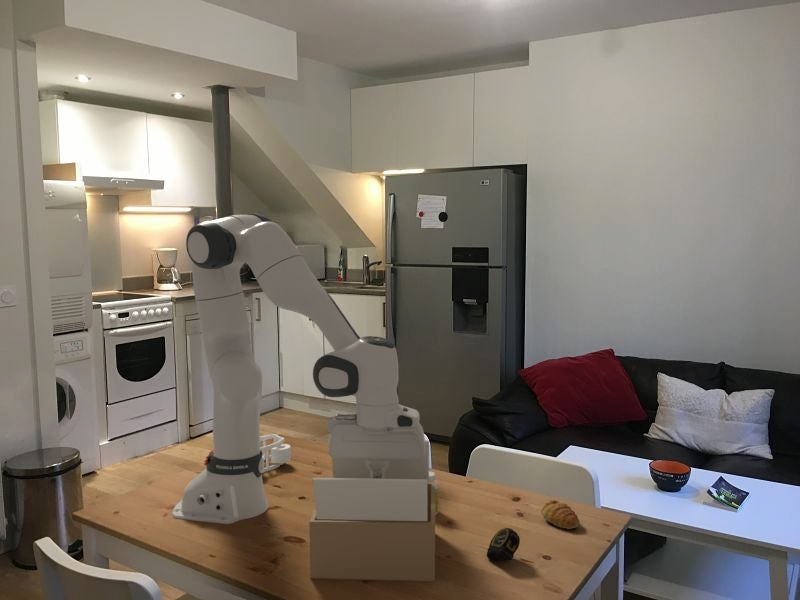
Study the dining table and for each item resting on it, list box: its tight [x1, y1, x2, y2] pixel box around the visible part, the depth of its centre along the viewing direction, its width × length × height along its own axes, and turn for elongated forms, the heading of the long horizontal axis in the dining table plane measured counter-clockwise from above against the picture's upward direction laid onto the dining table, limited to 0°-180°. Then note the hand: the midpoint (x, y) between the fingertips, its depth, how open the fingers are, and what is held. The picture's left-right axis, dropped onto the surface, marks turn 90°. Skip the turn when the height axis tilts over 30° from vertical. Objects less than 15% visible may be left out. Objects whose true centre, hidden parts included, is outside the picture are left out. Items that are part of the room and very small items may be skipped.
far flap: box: [331, 439, 430, 481], centre depth 150 cm, size 21×10×1 cm
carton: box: [308, 482, 436, 583], centre depth 142 cm, size 24×22×12 cm
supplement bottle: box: [427, 470, 439, 516], centre depth 164 cm, size 5×5×10 cm
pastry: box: [540, 499, 581, 530], centre depth 158 cm, size 9×7×4 cm
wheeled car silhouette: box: [260, 433, 292, 474], centre depth 195 cm, size 20×11×7 cm, turn 148°
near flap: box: [312, 477, 428, 521], centre depth 128 cm, size 21×10×1 cm
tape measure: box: [486, 527, 521, 562], centre depth 139 cm, size 7×7×4 cm
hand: (377, 479), depth 144 cm, fingers closed
